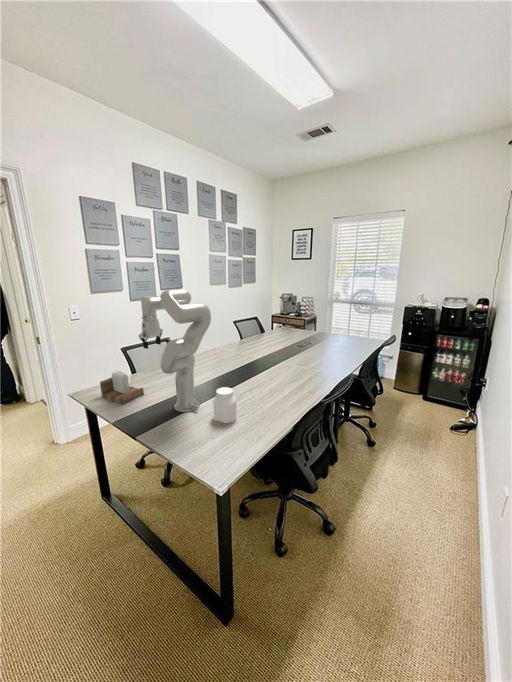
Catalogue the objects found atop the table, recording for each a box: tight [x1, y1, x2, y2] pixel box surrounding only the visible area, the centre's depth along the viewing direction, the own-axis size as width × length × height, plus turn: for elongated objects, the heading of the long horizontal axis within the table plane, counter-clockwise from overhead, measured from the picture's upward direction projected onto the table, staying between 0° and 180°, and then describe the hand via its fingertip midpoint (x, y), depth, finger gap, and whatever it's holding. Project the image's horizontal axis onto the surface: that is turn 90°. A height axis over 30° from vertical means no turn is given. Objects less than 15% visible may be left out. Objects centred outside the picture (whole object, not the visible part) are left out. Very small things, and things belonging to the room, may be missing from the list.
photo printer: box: [111, 370, 130, 394], centre depth 162 cm, size 10×4×12 cm, turn 62°
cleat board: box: [99, 376, 145, 405], centre depth 163 cm, size 18×14×10 cm
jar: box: [212, 386, 238, 424], centre depth 140 cm, size 12×10×15 cm
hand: (152, 346), depth 165 cm, fingers open, 9 cm apart
